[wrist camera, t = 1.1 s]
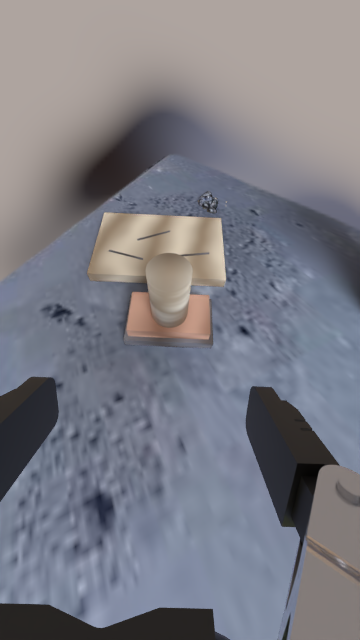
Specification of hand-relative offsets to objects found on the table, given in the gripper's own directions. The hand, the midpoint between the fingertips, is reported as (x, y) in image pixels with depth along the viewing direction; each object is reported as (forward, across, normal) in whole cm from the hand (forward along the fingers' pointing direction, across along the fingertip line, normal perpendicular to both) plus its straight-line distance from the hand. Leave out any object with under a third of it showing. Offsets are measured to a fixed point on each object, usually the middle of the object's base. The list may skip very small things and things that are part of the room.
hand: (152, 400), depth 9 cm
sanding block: (+19, 0, +3) cm, 19 cm away
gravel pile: (+36, -6, -14) cm, 39 cm away
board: (+27, +2, -6) cm, 28 cm away
